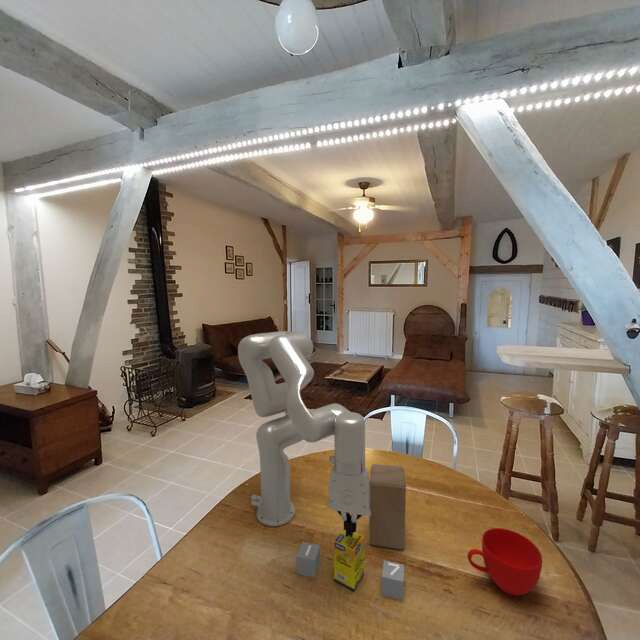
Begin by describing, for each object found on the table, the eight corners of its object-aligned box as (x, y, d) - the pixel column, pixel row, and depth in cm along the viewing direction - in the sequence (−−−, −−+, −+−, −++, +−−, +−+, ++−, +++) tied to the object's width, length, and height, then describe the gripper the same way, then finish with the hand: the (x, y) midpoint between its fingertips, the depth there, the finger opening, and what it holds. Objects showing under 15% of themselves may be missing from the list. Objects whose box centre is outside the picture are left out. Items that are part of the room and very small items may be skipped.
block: (404, 551, 92) (406, 485, 90) (368, 546, 94) (369, 480, 92) (403, 526, 102) (404, 465, 100) (370, 522, 104) (371, 462, 102)
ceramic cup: (457, 561, 89) (458, 527, 88) (520, 562, 89) (522, 528, 88) (478, 607, 76) (480, 568, 75) (552, 609, 76) (555, 570, 75)
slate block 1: (296, 573, 86) (296, 555, 85) (302, 558, 90) (302, 541, 90) (314, 578, 84) (314, 559, 84) (320, 562, 89) (320, 544, 89)
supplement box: (354, 592, 80) (354, 551, 79) (333, 581, 83) (333, 541, 82) (364, 574, 85) (365, 535, 84) (344, 564, 88) (344, 526, 87)
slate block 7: (381, 595, 80) (381, 575, 79) (383, 578, 84) (383, 559, 84) (402, 600, 78) (403, 581, 78) (403, 582, 83) (404, 563, 82)
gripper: (316, 467, 80) (317, 537, 81) (378, 476, 75) (378, 550, 77) (324, 452, 87) (325, 517, 88) (381, 460, 83) (381, 528, 84)
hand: (350, 532), depth 83 cm, fingers closed
